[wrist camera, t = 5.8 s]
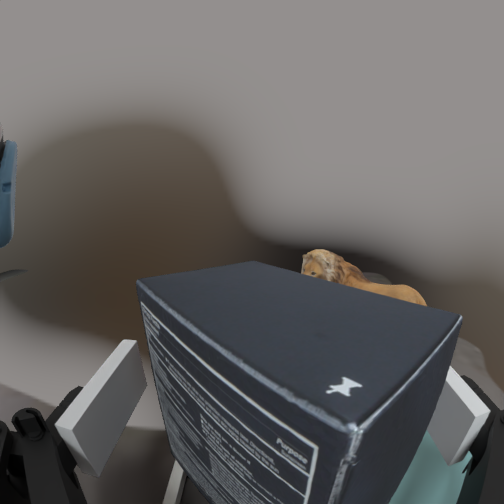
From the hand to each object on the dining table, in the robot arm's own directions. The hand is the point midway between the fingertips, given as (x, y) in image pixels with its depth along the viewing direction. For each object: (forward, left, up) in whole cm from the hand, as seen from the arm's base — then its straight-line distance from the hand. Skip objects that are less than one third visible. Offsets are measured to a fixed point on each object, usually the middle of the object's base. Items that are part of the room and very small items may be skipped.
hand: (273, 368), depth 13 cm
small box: (0, -3, -6) cm, 7 cm away
